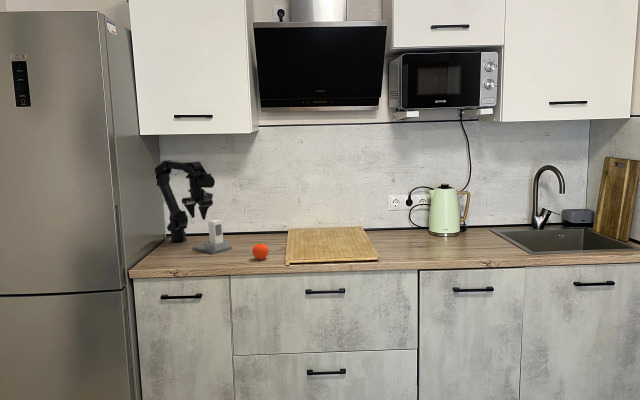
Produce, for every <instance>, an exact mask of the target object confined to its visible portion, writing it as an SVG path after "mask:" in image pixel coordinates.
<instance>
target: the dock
mask: <svg viewBox="0 0 640 400" xmlns="http://www.w3.org/2000/svg"><path fill="white" fill-rule="evenodd" d="M192 250H194V251H197V252H201V253H204V254H210V255H216V254H219V253H224V252H226V251H231V250H233V247H232V246H230V241H229V240H225V239H223V242H222V243H218V244H212V243H210V240H209V241H205V242H204V244H200V245H199V244H198V245H195V246H192Z"/></svg>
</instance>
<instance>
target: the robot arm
mask: <svg viewBox="0 0 640 400" xmlns="http://www.w3.org/2000/svg"><path fill="white" fill-rule="evenodd" d="M154 169H155V173H156V179H157V184H156V186H158V187H159V189H160V191H161V193H162V196H163V199H164V202H165V203H166V205H167V208H168V210H169V219H168V220H169V223H168V224H167V226H166V229H167V232H170V241H169V243H171V244H178V243H179V244H181V243H184V242H185V241H187V240H188V239H187V236H186V232H185V229H187V228H188V222H189V216H188V215H187V212H186V211H185V210H182V209H180V206H179V205H178V202H177V200H176V197H175V195H174V192H173V189H172V188H171V187H172V186H171V185H170V182H171V181H170V180H171V176H170V174H171V173H172V170H179V171H182V172H184V173H186V174H187V175H186V176H185V179H188V183H189V184H188V185H189V189H188V190H187V191H188V193H190V194H189V195H190V196H187V197H183V198H182V199H181V204H182V205H183V206H184V207H185V209H186V210H187V211H188V214H189V215H190V216H191V218H192V219H194V218H195V217H196V215H195V211H196V210H195V209H196V205H197V204H198V211H199V213H200V217H201V218H202V220H203V221H204V220H206V216H207V214H208V209H210V207H212V206H213V205H214V200H213V196H214V193H211V192H207V191H206V190H205V189H207V188H208V189H211V188H213V187H214V186H215V183H216V181H215V178H214V177H213V176H212V173H208V172H207V171H206V169H205V168H204V166H203V165H202V163H201V161H199V160H198V161H197V160H196V161H189V162H187V161H178V160H171V159H168V160H167V159H165V160H163V161H162V162H161V163H160V164H159V165H157V166H156V167H155V168H154ZM204 188H205V189H204Z"/></svg>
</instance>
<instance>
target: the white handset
mask: <svg viewBox="0 0 640 400" xmlns="http://www.w3.org/2000/svg"><path fill="white" fill-rule="evenodd" d="M207 224H208V235H209V241H210V243H212V244H218V243H222V242H223V240H224V234H223V233H224V232H223V231H224V230H223V221H222V220H221V219H212V220H208V221H207Z"/></svg>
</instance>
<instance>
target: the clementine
mask: <svg viewBox="0 0 640 400" xmlns="http://www.w3.org/2000/svg"><path fill="white" fill-rule="evenodd" d="M252 255H253V257H254V258H255V259H257V260H264V259H265V258H267V256H268V255H269V247H268V246H267V245H266V244H264V243H262V242H258V243H257V244H255V245H254V246H253V247H252Z"/></svg>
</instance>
